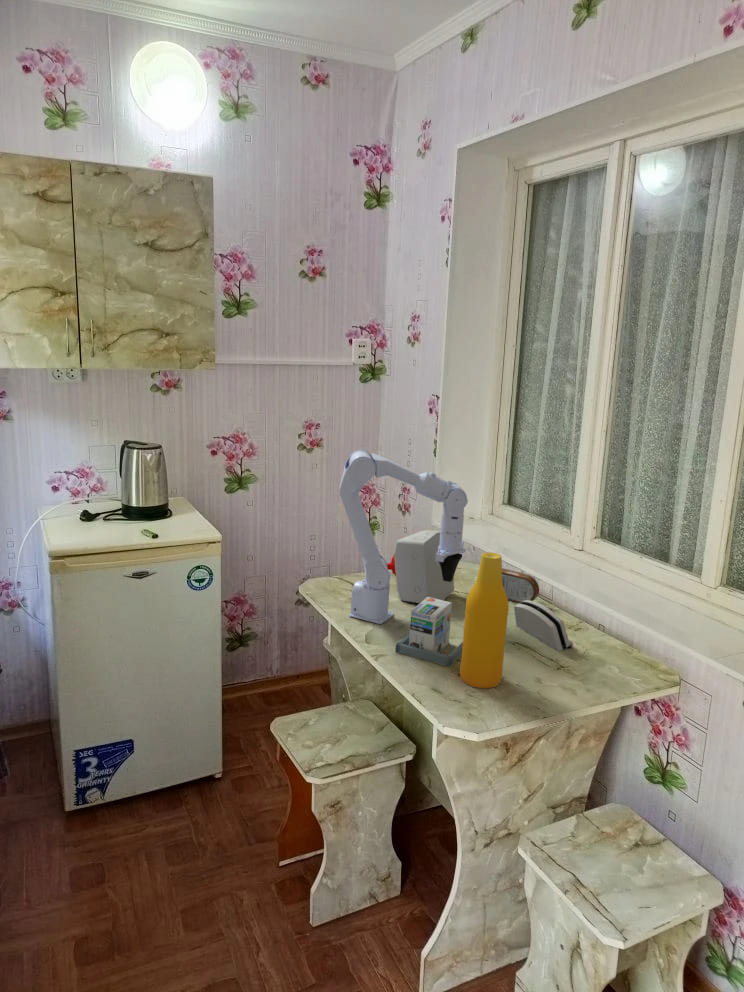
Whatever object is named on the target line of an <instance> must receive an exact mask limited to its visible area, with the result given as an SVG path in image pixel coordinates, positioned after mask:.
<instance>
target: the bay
mask: <svg viewBox="0 0 744 992" xmlns="http://www.w3.org/2000/svg"><path fill="white" fill-rule="evenodd" d="M409 636H410V632H409V633H407V634H406V635H405V636H404V637H402V638H401V639H400V640H399V641H398V642H397V643H395V653H399V654H402V655H406V656H410V657H412V658H417V659H421V660H424V661H428V662H430V663H431V662H432V663H436V664H440V665H443V666H447V667H452V665H454V663H456V661H457V660H459V659H460V658H461V657H462V647H463V641H461V643H460V644H458V646H457V647H456V648H455V649H454V650H452V652H451V653H450V654H448V655H446V654H442V653H440V652H439V653H435V652H432V651H428V650H424V649H420V648H417V647H413V646H409Z"/></svg>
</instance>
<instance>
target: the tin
mask: <svg viewBox="0 0 744 992" xmlns="http://www.w3.org/2000/svg"><path fill="white" fill-rule="evenodd" d="M502 584H503V587H504V590H505V592H506V595H507V599H508V601H511V602H515V603H517V604H521V602H522V601H525V600H530V601H534V600H536V599H537V598H538V596H539V593H540V586H539V583H538V580H536V579H535V577H534V576H532V575H530V574H527V573H523V572H518V571H515V570H511V569H507V568H504V567H502Z"/></svg>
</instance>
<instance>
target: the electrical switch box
mask: <svg viewBox="0 0 744 992" xmlns="http://www.w3.org/2000/svg"><path fill="white" fill-rule="evenodd" d="M439 543H440V530H428V529H427V530H420V531H418V532H415V533H413V534H411V535H408V536H405V537H403V538H400V539H398V540H396V542H395V547H394V552H393V556H392V557H391V560H390V561H391V562H389V563H388V562H387V568H388V571H389V570H391V572H392V574H393V575H394V576H395V580H396V581H395V582H396V591H397V593H398V595H399V599H400V601H404V602H407V603H416V604H420V603H421V602H422V601H423V600H425V599H426V598H427V597H431V598H434V599H439V600H443V601H445V600H446V598H448V597H449V596H450V595H451V594H452V593H453V592H454V590H455V583H454V582H455V581H454V578H455V577H453V580H452V581H451V582H448V581H443V577H442V571H441V566H440V564H439V561H435V560H436V553H437V552H438V546H439Z"/></svg>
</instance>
